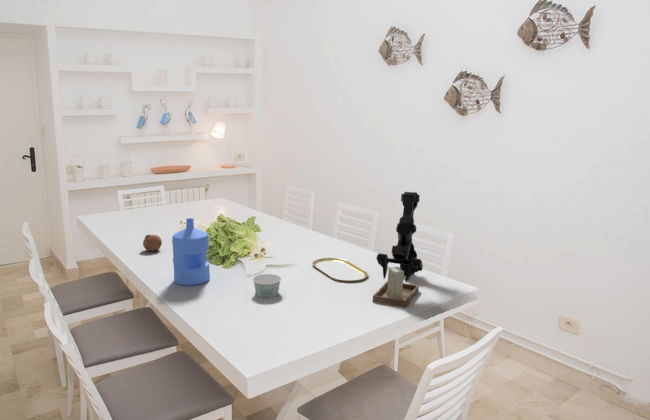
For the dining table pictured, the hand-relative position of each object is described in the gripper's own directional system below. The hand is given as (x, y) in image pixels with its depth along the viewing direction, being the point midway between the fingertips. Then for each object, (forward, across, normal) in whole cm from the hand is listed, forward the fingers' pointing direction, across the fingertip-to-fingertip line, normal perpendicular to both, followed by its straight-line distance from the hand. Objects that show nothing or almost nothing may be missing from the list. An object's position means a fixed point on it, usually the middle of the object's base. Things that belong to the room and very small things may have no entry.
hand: (394, 280), depth 206 cm
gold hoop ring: (-10, -34, +23) cm, 42 cm away
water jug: (+19, -88, -7) cm, 90 cm away
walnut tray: (+3, 0, +8) cm, 9 cm away
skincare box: (+5, 0, +6) cm, 8 cm away
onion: (0, -135, +12) cm, 136 cm away
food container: (+18, -50, -6) cm, 54 cm away
